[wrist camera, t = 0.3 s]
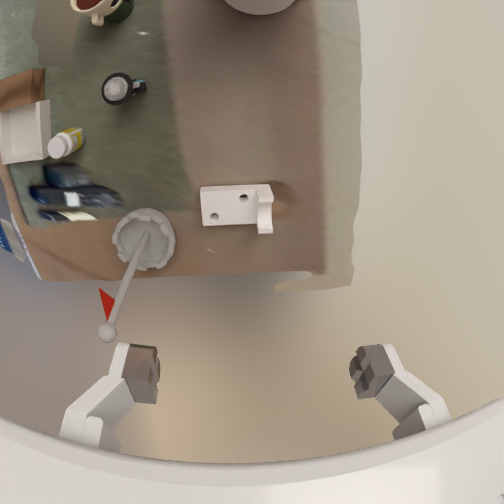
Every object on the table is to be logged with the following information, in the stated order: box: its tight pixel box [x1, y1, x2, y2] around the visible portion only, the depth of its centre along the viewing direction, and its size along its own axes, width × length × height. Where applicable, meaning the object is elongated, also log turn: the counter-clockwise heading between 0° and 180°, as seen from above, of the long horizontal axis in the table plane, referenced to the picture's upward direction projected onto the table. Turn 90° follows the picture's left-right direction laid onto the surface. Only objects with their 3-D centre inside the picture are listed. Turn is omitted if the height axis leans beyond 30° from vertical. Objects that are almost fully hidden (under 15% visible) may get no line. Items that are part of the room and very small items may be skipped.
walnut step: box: [0, 68, 45, 112], centre depth 36 cm, size 7×10×5 cm
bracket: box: [200, 184, 274, 234], centre depth 54 cm, size 13×7×8 cm, turn 90°
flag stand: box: [97, 208, 176, 343], centre depth 47 cm, size 13×13×30 cm
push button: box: [102, 73, 147, 105], centre depth 39 cm, size 7×5×10 cm
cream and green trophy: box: [70, 0, 133, 26], centre depth 28 cm, size 11×7×13 cm, turn 1°
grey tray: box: [0, 99, 52, 165], centre depth 42 cm, size 12×13×4 cm
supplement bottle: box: [48, 126, 86, 158], centre depth 43 cm, size 5×5×8 cm
